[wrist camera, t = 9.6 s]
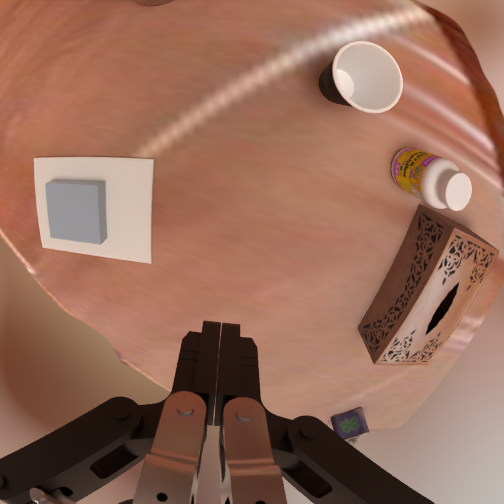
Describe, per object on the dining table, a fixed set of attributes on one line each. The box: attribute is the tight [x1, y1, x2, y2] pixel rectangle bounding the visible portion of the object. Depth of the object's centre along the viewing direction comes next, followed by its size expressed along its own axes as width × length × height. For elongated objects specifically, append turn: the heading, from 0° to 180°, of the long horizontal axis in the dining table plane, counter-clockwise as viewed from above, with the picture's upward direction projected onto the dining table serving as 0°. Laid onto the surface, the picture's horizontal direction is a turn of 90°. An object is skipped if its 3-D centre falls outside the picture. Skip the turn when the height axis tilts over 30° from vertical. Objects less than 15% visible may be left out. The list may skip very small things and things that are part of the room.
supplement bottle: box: [391, 148, 472, 211], centre depth 31 cm, size 7×7×13 cm
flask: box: [331, 407, 369, 446], centre depth 61 cm, size 9×3×11 cm, turn 109°
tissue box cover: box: [358, 205, 499, 365], centre depth 42 cm, size 26×14×10 cm, turn 165°
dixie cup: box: [319, 41, 403, 113], centre depth 26 cm, size 8×8×11 cm
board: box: [34, 156, 155, 264], centre depth 37 cm, size 22×16×1 cm
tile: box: [45, 179, 108, 245], centre depth 36 cm, size 2×9×10 cm
